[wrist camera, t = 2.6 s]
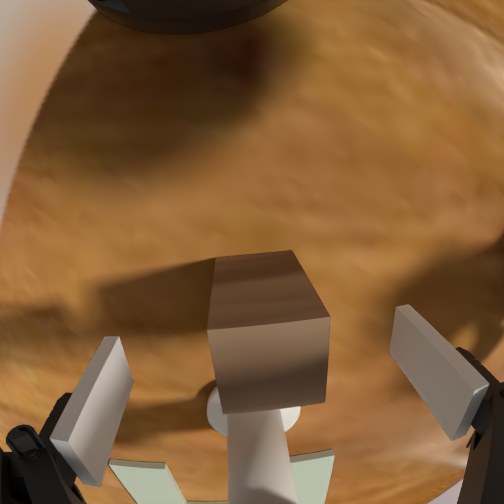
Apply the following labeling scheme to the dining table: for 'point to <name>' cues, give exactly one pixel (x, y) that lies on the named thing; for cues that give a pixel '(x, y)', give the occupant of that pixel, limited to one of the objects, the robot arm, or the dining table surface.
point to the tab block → (267, 333)
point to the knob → (256, 453)
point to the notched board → (172, 500)
